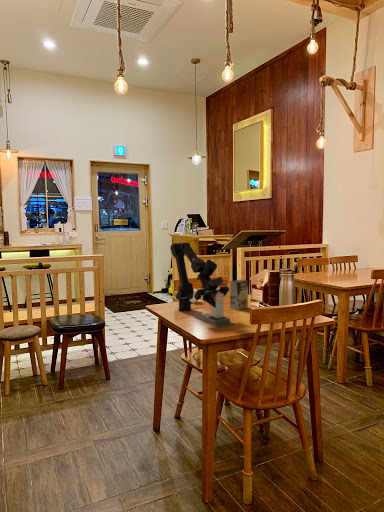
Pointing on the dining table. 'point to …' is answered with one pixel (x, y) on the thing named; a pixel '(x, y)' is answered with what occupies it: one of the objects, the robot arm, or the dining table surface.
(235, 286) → the coffee box
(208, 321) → the dark flat piece
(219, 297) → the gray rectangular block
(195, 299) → the penguin figurine
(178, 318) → the dining table surface
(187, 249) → the robot arm
